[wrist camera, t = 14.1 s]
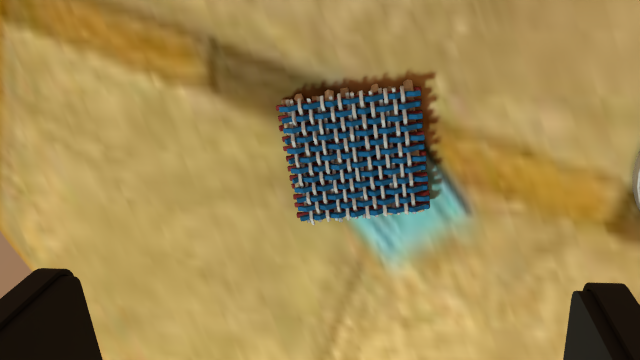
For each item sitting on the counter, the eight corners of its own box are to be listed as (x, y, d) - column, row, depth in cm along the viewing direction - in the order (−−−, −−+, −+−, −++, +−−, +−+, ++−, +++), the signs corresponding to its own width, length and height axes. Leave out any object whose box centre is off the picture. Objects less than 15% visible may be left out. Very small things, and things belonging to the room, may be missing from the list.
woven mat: (275, 93, 39) (269, 100, 37) (419, 75, 37) (421, 81, 35) (298, 218, 43) (294, 230, 41) (430, 207, 41) (432, 219, 39)
